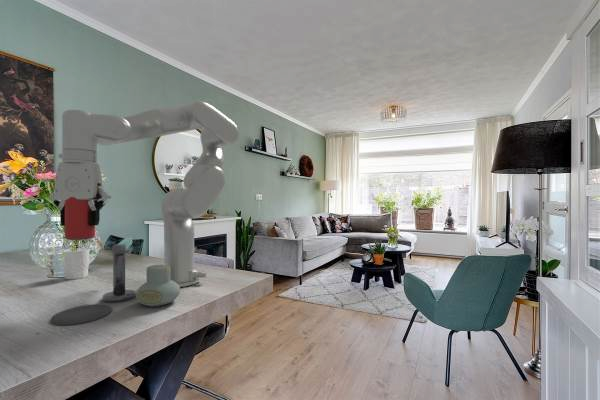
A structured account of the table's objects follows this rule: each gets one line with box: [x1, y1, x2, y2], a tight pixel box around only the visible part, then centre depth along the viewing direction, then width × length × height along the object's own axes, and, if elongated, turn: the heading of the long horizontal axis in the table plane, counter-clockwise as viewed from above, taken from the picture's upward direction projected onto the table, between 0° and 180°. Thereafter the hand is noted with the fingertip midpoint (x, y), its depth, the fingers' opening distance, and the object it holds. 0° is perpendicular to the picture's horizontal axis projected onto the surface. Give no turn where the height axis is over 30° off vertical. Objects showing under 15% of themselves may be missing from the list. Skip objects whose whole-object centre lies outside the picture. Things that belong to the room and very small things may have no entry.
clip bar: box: [112, 237, 133, 255], centre depth 96 cm, size 22×3×2 cm, turn 22°
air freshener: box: [135, 264, 181, 308], centre depth 84 cm, size 11×8×10 cm
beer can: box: [64, 197, 96, 241], centre depth 82 cm, size 7×7×12 cm
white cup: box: [62, 247, 90, 280], centre depth 111 cm, size 8×8×10 cm
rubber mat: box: [50, 303, 113, 326], centre depth 75 cm, size 12×12×1 cm
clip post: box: [102, 253, 136, 304], centre depth 88 cm, size 8×8×13 cm
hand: (80, 224), depth 82 cm, fingers closed on beer can, 6 cm apart
